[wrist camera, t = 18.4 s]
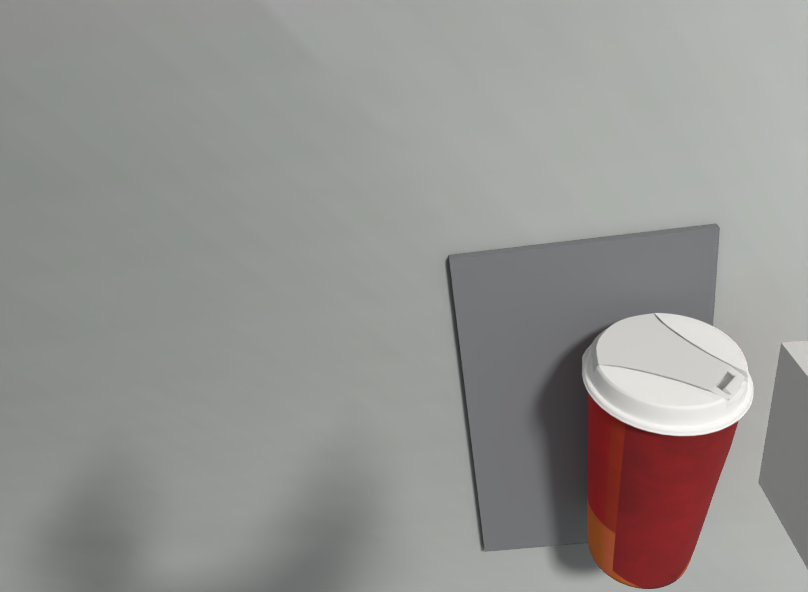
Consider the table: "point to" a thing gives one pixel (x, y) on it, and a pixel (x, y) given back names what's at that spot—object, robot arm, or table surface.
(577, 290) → the mat
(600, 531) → the coffee cup
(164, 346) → the table surface
